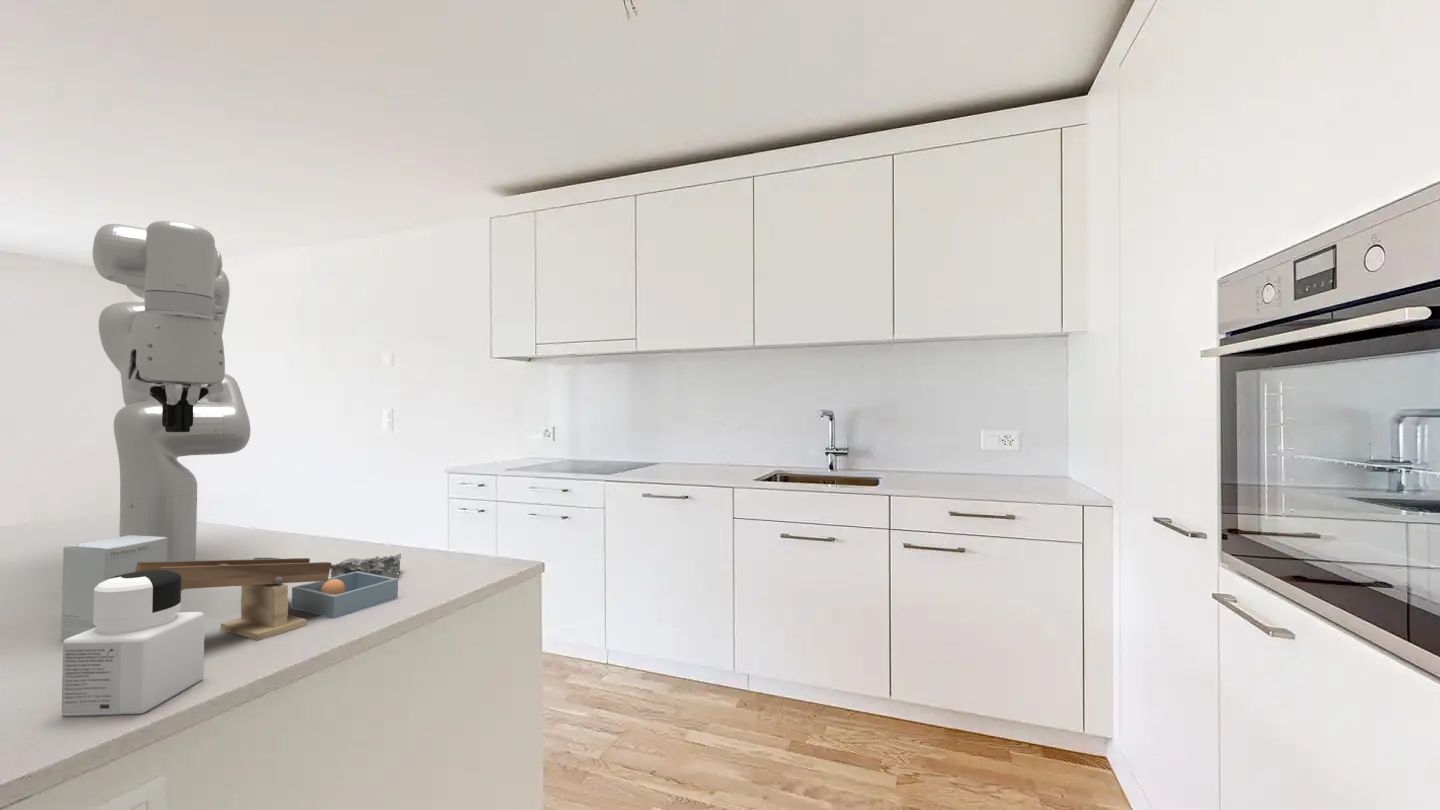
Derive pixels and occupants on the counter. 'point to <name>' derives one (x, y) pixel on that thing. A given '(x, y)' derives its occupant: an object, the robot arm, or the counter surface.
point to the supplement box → (100, 573)
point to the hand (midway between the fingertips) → (177, 431)
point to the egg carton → (369, 566)
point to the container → (133, 647)
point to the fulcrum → (263, 612)
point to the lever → (242, 571)
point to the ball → (333, 587)
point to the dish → (345, 594)
